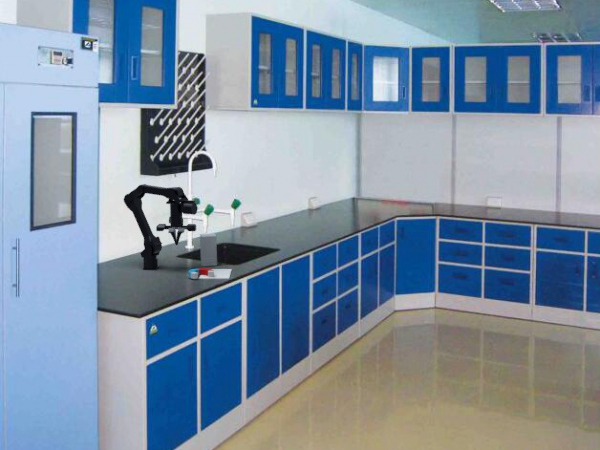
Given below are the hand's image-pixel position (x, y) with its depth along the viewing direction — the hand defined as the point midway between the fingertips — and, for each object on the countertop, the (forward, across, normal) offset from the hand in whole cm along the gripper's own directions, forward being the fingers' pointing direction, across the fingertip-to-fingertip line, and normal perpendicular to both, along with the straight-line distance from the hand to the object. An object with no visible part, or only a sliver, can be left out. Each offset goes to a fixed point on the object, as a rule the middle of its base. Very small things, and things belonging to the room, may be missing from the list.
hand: (176, 245), depth 374 cm
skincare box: (+13, -14, -15) cm, 24 cm away
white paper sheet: (+13, -20, +7) cm, 24 cm away
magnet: (+11, -11, +8) cm, 17 cm away
